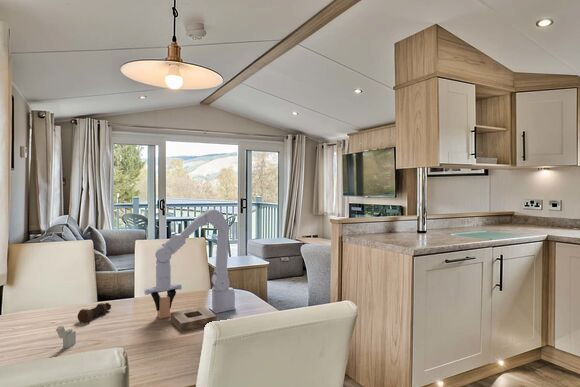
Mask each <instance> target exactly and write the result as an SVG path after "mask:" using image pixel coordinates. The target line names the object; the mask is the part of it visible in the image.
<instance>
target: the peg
mask: <svg viewBox="0 0 580 387" xmlns="http://www.w3.org/2000/svg"><path fill="white" fill-rule="evenodd" d="M156 312H157V318H159V319H164V318H170V313H171V309H170V297H169V296H168V295H167V294H164V295H160V298H159V311H157V310H156Z"/></svg>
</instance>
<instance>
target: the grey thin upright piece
mask: <svg viewBox="0 0 580 387" xmlns="http://www.w3.org/2000/svg"><path fill="white" fill-rule="evenodd" d="M55 330H56V333H57V335H58V337H59V339H62V348H63V349H68V348H70V347H72V346H74V345H75V344H76V343H77V341H76V340H77V338H76V336H77V334H76V332H77V330H73V329H72V328H69V329H67V330H65V327H64V326H63V325H59V326H58V327H56V329H55Z"/></svg>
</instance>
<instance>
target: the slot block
mask: <svg viewBox="0 0 580 387" xmlns="http://www.w3.org/2000/svg"><path fill="white" fill-rule="evenodd" d="M217 319H218V316H217V315H216V313H214V312H213V311H212V310H210V309H209V308H207V307H205V306H198V307H193V308H188V309H182V310H179V311H173V312H172V311H170V317H169V320H170V322H171V323H172V324H173V325H174V326H175V327H176V328H177V330H179V331H180V332H185V331H189V330H194V329H197V328H198V329H199V328H204V327H206V326H205V325H206V324H207V323H209V322H212V321H217V322H218V320H217Z"/></svg>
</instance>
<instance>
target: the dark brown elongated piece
mask: <svg viewBox="0 0 580 387" xmlns="http://www.w3.org/2000/svg"><path fill="white" fill-rule="evenodd" d="M111 309H112V304H110V303H109V302H105V303H102V302H101V303H97V305H96V306H95V307H93V308H90V309H88V308H86V309H85V308H83V309H80V310H79V312H78V314H77V320H78V322H79V323H83V324H87V323H90V321H91V319H92V318H94V317H96V316H98V315H102V316H103V315H106V313H107V312H108V311H110V310H111Z"/></svg>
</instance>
